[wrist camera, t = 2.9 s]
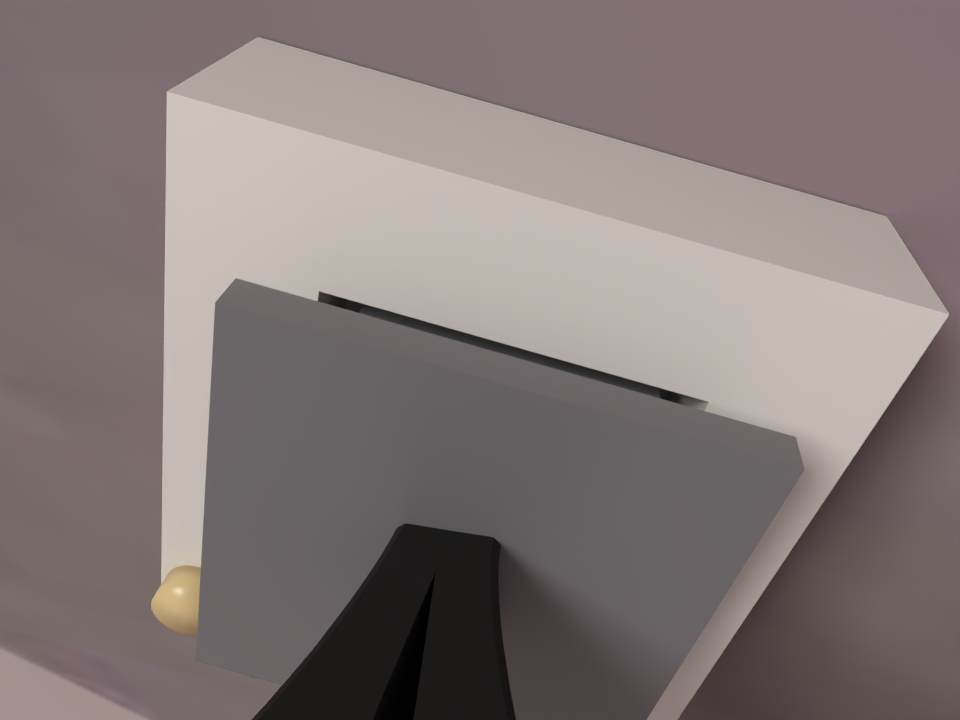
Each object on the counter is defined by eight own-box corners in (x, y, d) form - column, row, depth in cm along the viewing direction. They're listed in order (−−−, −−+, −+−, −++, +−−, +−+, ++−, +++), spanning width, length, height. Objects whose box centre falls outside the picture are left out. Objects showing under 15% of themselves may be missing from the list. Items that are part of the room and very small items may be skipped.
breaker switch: (763, 312, 12) (804, 469, 9) (614, 602, 16) (610, 777, 13) (314, 184, 12) (215, 302, 9) (275, 506, 16) (195, 661, 13)
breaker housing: (886, 216, 13) (966, 339, 10) (658, 617, 18) (662, 772, 15) (258, 37, 13) (143, 105, 10) (224, 494, 18) (146, 626, 15)
